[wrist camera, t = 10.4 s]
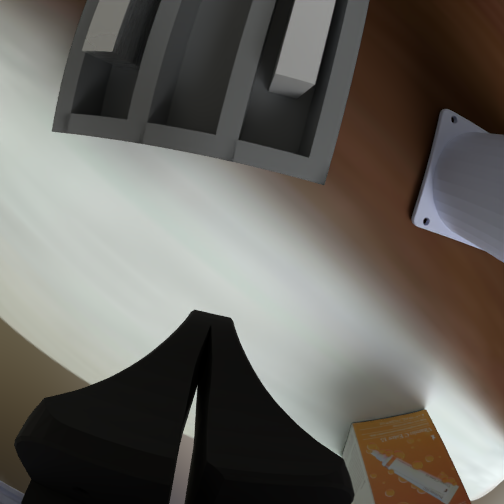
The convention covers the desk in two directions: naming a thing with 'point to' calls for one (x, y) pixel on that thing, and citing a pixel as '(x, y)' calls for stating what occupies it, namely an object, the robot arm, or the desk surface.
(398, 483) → the small box
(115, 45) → the panel
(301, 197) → the desk surface
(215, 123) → the rack
